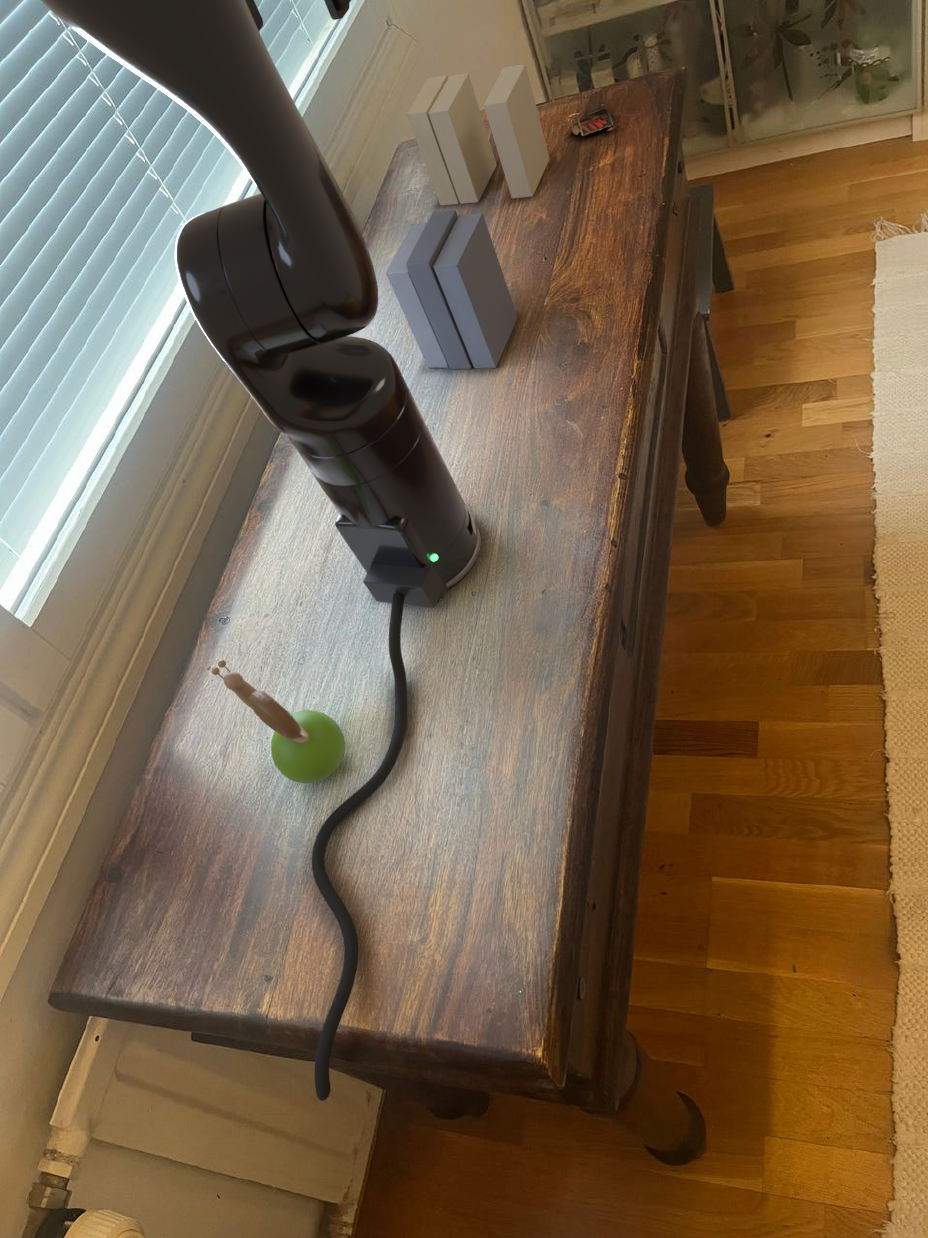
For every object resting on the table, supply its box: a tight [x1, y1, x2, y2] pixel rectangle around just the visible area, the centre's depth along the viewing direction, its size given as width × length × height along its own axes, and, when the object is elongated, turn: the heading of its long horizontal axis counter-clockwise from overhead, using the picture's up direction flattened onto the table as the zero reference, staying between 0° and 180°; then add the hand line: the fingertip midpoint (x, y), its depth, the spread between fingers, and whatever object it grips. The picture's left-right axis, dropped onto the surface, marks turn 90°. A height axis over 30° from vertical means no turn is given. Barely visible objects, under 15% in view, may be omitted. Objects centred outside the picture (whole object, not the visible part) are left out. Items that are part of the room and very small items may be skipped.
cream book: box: [483, 63, 551, 199], centre depth 102 cm, size 7×3×11 cm, turn 160°
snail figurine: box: [211, 659, 346, 785], centre depth 67 cm, size 5×6×12 cm
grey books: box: [385, 209, 518, 370], centre depth 89 cm, size 7×8×12 cm
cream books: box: [406, 72, 497, 207], centre depth 106 cm, size 7×5×11 cm
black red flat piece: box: [571, 107, 616, 137], centre depth 108 cm, size 5×5×1 cm
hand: (298, 22), depth 75 cm, fingers open, 8 cm apart
